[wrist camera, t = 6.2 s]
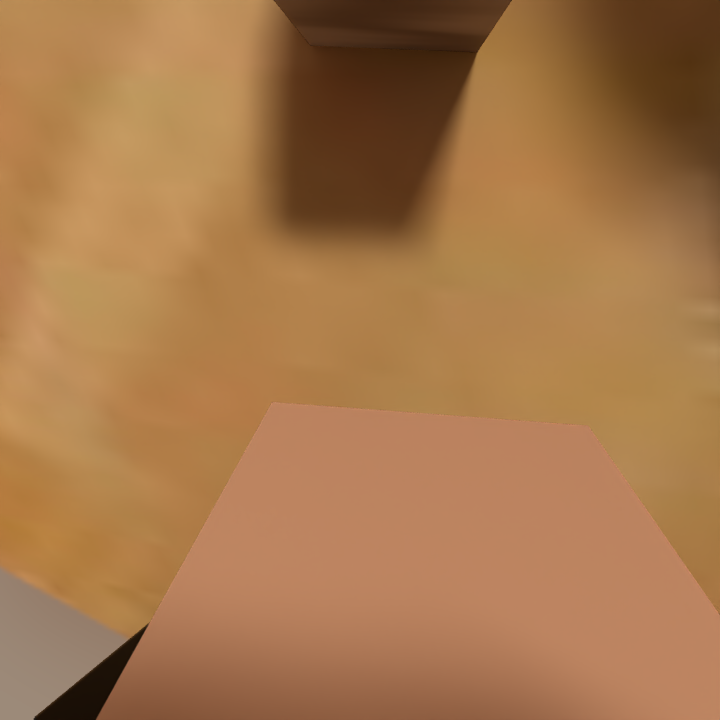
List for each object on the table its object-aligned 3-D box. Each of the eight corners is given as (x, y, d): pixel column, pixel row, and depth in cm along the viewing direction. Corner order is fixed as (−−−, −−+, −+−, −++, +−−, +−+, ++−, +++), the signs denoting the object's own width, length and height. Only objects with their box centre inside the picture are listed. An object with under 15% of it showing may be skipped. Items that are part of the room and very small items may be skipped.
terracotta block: (588, 425, 9) (928, 913, 3) (538, 666, 10) (696, 1265, 5) (271, 402, 9) (45, 810, 3) (273, 640, 11) (126, 1179, 5)
